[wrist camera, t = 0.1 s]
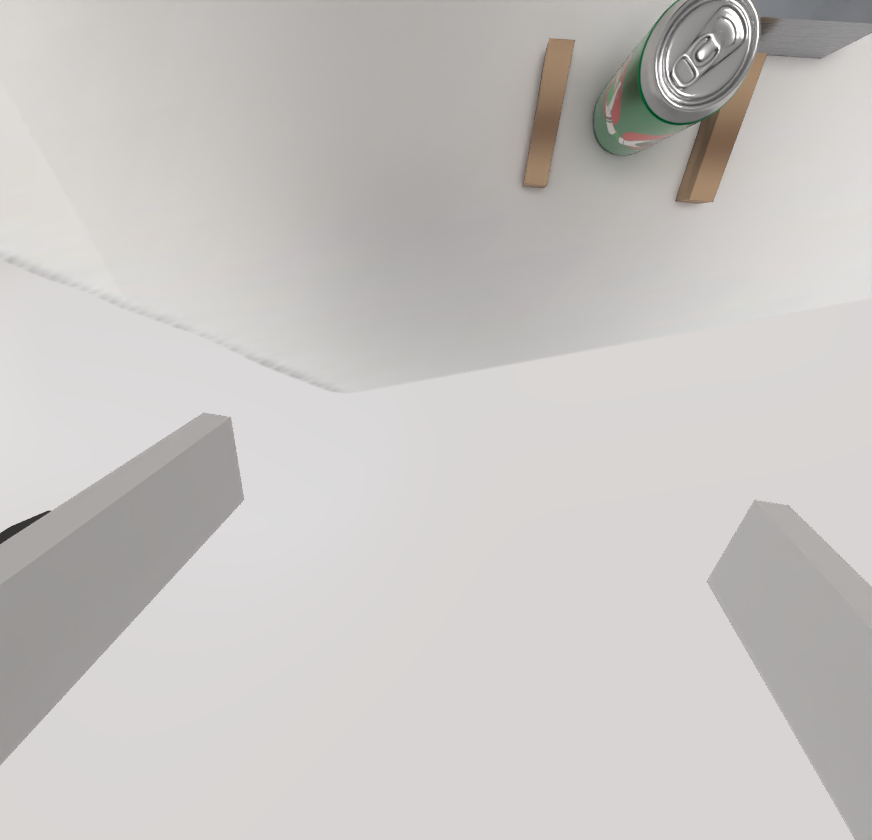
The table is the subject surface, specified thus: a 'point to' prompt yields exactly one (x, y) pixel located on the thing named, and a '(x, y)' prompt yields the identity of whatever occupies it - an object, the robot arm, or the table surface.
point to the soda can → (678, 73)
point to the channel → (707, 149)
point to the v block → (811, 26)
